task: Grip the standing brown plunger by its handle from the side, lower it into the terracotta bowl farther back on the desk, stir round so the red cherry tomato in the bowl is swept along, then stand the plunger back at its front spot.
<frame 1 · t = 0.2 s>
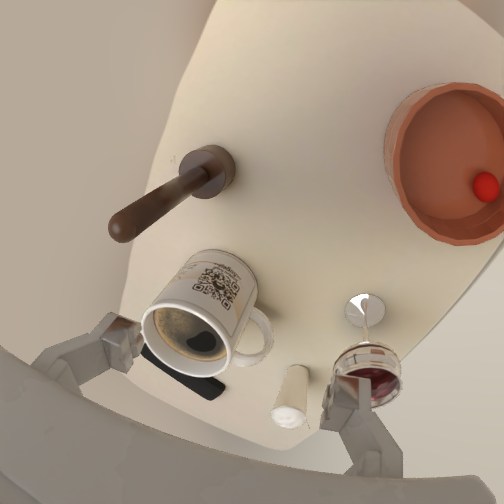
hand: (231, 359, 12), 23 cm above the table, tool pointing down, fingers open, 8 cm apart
tomato: (486, 187, 24), point 2 cm above the table, touching bowl
mug: (226, 290, 40), on the table
wineglass: (365, 310, 36), on the table
brown plunger: (212, 168, 33), on the table
bowl: (450, 155, 26), on the table
remote control: (183, 366, 50), on the table
milkshake: (300, 371, 43), on the table
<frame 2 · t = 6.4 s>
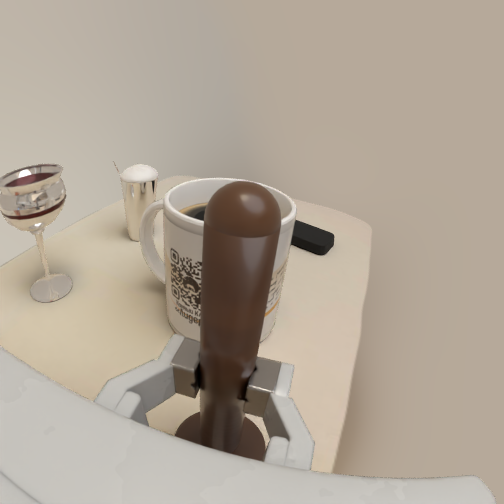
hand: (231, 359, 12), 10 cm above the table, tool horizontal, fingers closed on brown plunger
mug: (212, 308, 29), on the table
wineglass: (51, 288, 28), on the table
brown plunger: (217, 463, 16), on the table, touching gripper
remote control: (280, 232, 45), on the table
milkshake: (138, 237, 39), on the table
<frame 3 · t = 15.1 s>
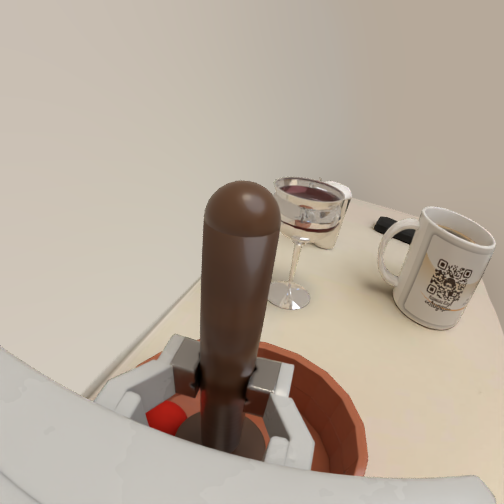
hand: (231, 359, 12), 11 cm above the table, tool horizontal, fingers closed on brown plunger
tomato: (164, 422, 18), point 2 cm above the table, tilted 19°, touching bowl
mug: (418, 301, 36), on the table
wineglass: (287, 295, 34), on the table
brown plunger: (218, 463, 16), point 1 cm above the table, touching gripper
bowl: (230, 467, 17), on the table
remote control: (413, 241, 51), on the table
milkshake: (320, 245, 46), on the table
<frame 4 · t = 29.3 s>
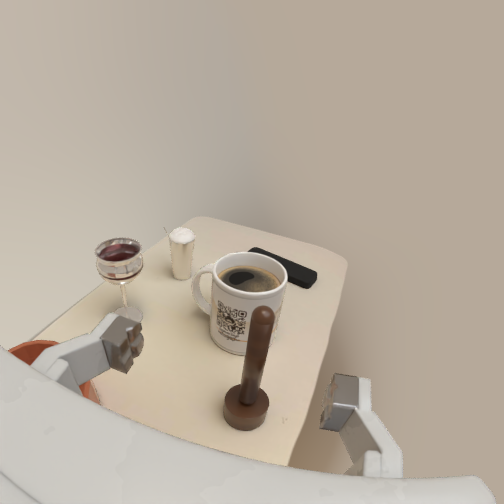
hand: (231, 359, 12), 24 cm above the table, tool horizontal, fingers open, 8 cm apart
mug: (236, 328, 48), on the table
wineglass: (127, 317, 46), on the table
brown plunger: (244, 413, 35), on the table
bowl: (49, 410, 29), on the table
remote control: (278, 270, 63), on the table
milkshake: (179, 276, 58), on the table
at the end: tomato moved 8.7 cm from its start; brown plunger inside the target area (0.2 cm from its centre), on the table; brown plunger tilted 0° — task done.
